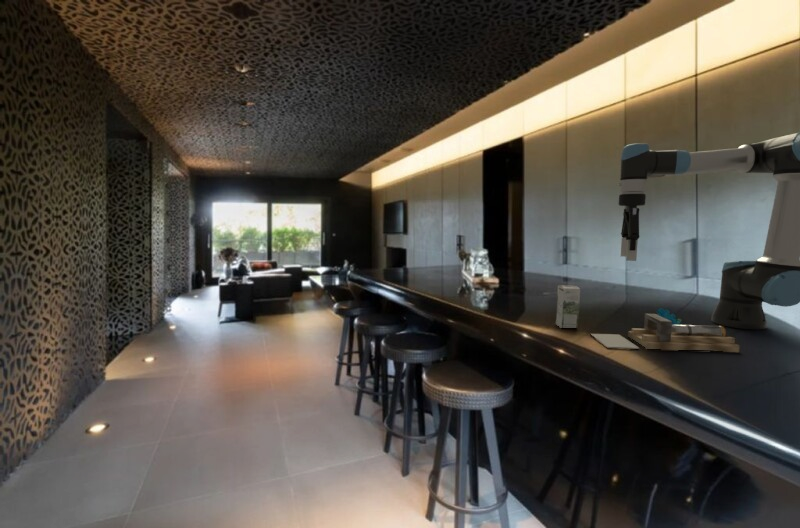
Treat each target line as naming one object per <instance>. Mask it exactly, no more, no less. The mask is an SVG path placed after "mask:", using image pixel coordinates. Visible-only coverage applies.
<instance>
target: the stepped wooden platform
mask: <svg viewBox="0 0 800 528" xmlns="http://www.w3.org/2000/svg"><path fill="white" fill-rule="evenodd" d="M657 314H658V313H657ZM657 314H656V313H644V321H643V322H644V324H643V328H640V327H639V328H635V327H632V328H631V329H630V330H628V331H627V332H628V333H627V338H628V337H630V338H631V339H630V338H629V339H630V340H632V339H633V340H635V341H636V342H638V343H639V344H641V345H642V346H641V345H640V346H641V347H643V346H644V347H645V348H644V347H643V348H644V349H645V350H647V349H661V350H660V351H678V350H714V351H723V352H722V353H740V347H741V346H740V345H739V344H738V343H737V344H736V343H735V342H736V341H735V340H736V337H732V336H725V337H717V336H682V335H671V329H672V321H670V320H668V319H665V318H663V317H661V316H659V315H657ZM633 340H632V341H633ZM635 341H634V342H635ZM636 342H635V343H636ZM638 343H637V344H638ZM639 344H638V345H639Z"/></svg>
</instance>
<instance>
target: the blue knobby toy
mask: <svg viewBox="0 0 800 528" xmlns="http://www.w3.org/2000/svg"><path fill="white" fill-rule="evenodd" d="M656 313H657V315H659V316H661V317H663V318H665V319H668V320H670V321H672V325H681V323H682V319H681V318H678V319H676V317H677V316H676V315H675V314H674V313H672V314H670V313H671V312H670V310H668V309H664V308H663V307H661V308H659V309H657V310H656Z"/></svg>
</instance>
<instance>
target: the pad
mask: <svg viewBox="0 0 800 528" xmlns="http://www.w3.org/2000/svg"><path fill="white" fill-rule="evenodd" d="M590 334H591V335H592V336H594V337H595V338H596V339H597V340H599V341H600V342H601V343H602V344H603V345H605V346H606V347H608V348H627V349H626V350H630V349H639V350H640V347H639V346H637V345H636V344H635V343H632V342H631V341H630V340H629V339H627V338H625V337H624V336H622V335H621V334H618V333H617V334H615V333H614V334H612V333H590ZM602 344H601V345H602ZM603 345H602V346H603Z"/></svg>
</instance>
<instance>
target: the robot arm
mask: <svg viewBox="0 0 800 528" xmlns="http://www.w3.org/2000/svg"><path fill="white" fill-rule="evenodd" d="M620 157H621V158H620V179H619V180H620V181H619V183H617V186H618V187H619V193H620V194H619V195H618V206H621V207H625V208H624V209H623V214H622V216H623V218H622V225H621V232H620V234H621V235H620V236H621V242H620V244H621V245H620V246H621V247H620V257H625V261H628V262H629V261H630V262H637V257H638V243H639V242H638V241H639V239H640V237H641V236H640V210H641V209H640V208H639V207H640V206H645V205H646V197H647V195H646V193H645V192H647V188H648V185H647V184H648V179H651V178H653V179H654V178H663V177H674V176H688V175H699V174H700V175H701V174H702V175H703V174H712V173H713V174H714V173H725V172H737V173H739V174H752V173H753V174H754V173H755V174H756V173H757V174H772V178H774V179H775V180H776V181H777V185H776V189H775V195H774V200H773V203H772V204H773V206H772V210H771V215H770V219H769V226H768V230H767V235H766V239H765V245H764V249H763V254H762V256H761V257H759V258H757V259H755V260H728V261H725V262H723V266H722V270H721V281H720V283H721V284H720V291H719V292H720V293H719V301H718V303H717V304H716V307H715V309H714V310H713V312H712V314H711V322H713V323H714V324H717V325H719V326H723V327H729V328H736V329H743V330H753V331H755V330H757V331H759V330H765V329H767V319H766V316H765V312H764V309H763V303H766V304H767V305H771V306H778V307H787V308H788V307H792V306H796V305H798V304H799V303H800V131H799V132H796V133H791V134H787V135H786V134H785V135H784V136H783V135H782V136H777V137H774V138H770V139H767V140H763V141H760V142H759V141H758V142H756V143H755V142H754V143H749V144H748V143H747V144H742V145H740V146H738V148H737V147H736V148H726V149H714V150H713V149H712V150H704V151H693V152H692V151H691V152H690V151H688V150H684V149H683V150H681V149H674V150H673V149H671V150H670V149H669V150H667V149H666V150H652V149H650V145H649V143H643V142H642V143H638V142H637V143H631V144H627V145H626V144H625V146H624V147H622V152H621V156H620Z"/></svg>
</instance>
